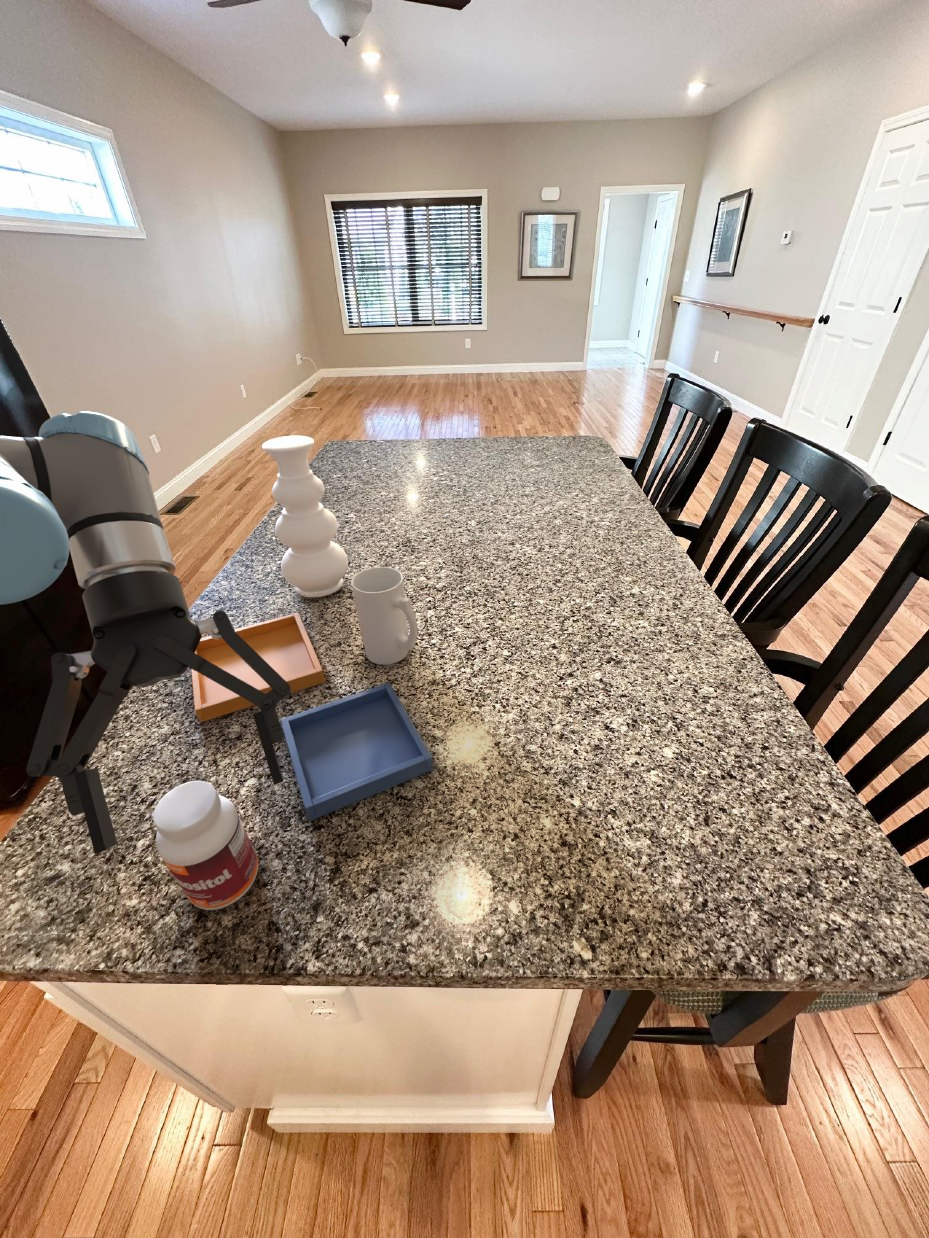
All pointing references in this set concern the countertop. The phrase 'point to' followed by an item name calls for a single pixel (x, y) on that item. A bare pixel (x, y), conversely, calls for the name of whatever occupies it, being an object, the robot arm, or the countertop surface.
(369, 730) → the blue tray
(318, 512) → the vase
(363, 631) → the mug
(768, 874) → the countertop surface
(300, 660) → the amber tray
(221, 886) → the pill bottle
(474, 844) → the countertop surface
